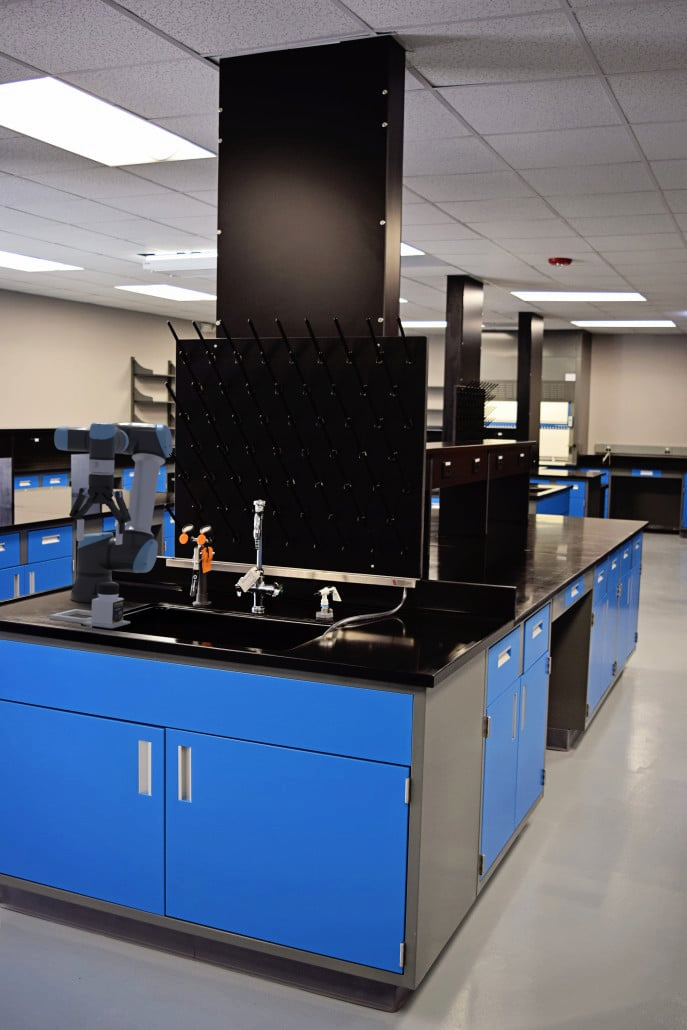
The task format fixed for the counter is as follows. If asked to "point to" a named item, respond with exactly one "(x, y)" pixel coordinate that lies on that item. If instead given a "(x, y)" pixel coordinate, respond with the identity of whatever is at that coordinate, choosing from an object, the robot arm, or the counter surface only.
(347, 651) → the counter surface
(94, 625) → the pad
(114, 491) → the robot arm
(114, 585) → the medicine bottle
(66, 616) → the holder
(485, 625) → the counter surface
